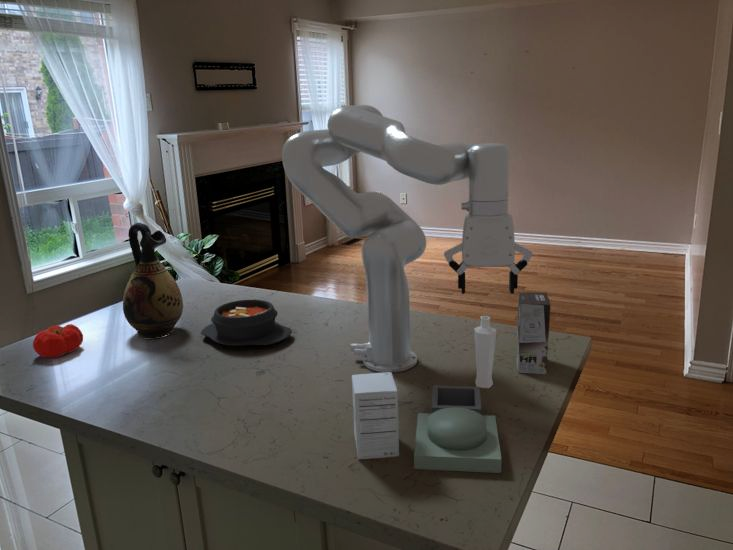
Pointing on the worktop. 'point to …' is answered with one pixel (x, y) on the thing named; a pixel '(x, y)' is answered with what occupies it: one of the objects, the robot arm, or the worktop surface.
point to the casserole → (246, 324)
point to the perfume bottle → (484, 352)
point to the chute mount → (457, 433)
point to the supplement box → (375, 415)
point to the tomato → (57, 341)
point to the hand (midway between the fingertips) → (487, 291)
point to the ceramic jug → (150, 288)
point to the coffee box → (532, 332)
